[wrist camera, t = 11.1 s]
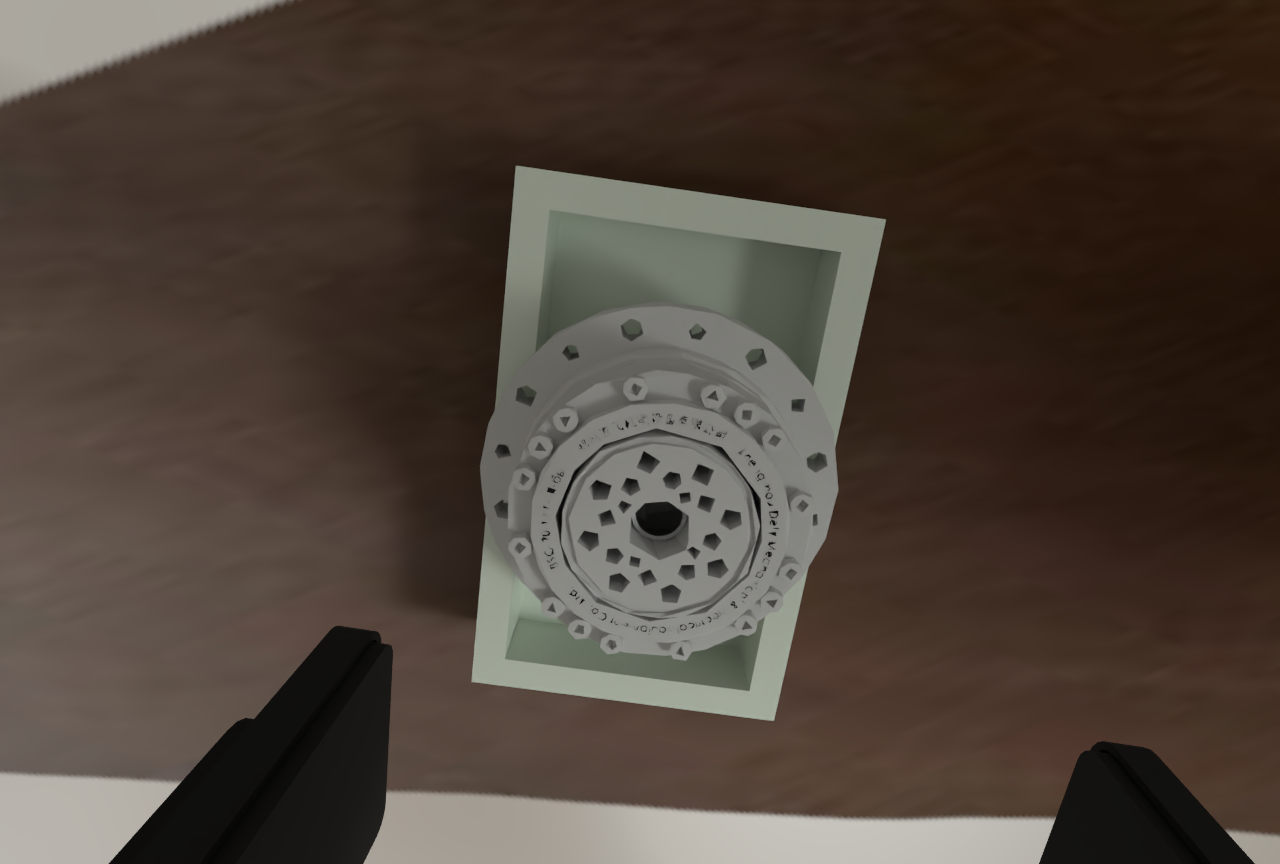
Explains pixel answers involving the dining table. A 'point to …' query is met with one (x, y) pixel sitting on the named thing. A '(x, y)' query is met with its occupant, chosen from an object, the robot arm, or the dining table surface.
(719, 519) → the mechanical component
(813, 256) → the tray
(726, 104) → the dining table surface
